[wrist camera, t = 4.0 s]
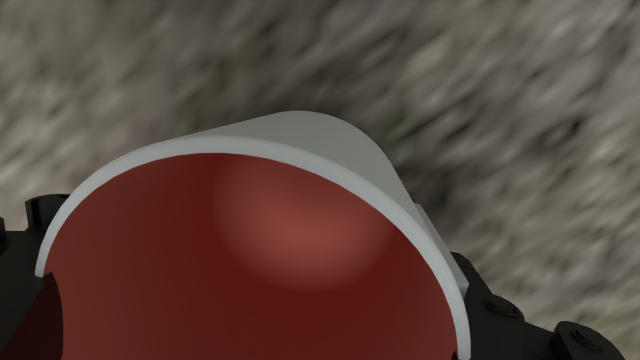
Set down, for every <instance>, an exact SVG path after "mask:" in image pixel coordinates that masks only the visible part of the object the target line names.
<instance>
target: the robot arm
mask: <svg viewBox="0 0 640 360" xmlns="http://www.w3.org/2000/svg"><path fill="white" fill-rule="evenodd" d="M70 195H71V194H50V195H44V196H38V197H35V198H32V199H29V200H28V201H26V202H25V206H26V213H27V219H28V226H29V227H28V228H27V229H26V230H25V231H6V230H5V224H4V219H3V218H1V217H0V360H61V358H62V355H63V328H64V327H63V310H62V303H61V297H60V293H59V288H58V285H57V282H56V280H55V277H54V275H53V273H52V272H51V273H49V274H48V275H46V276H44V277H38V276H36V275H35V269H36V264H37V259H38V255H39V251H40V247H41V244H42V242H43V239H44V237H45V234H46V232H47V230H48V227H49V225H50V224H51V222H52V220H53V219H54V217H55V215H56V214H57V212H58V210H59V209H60V207H61V206H62V205H63V203H64V202H65V201H66V200H67V199H68V197H69V196H70ZM414 205H415V207H416V209H417V210H418V212H419V214H420V216H421V218H422V219H423V221H424V223H425V225H426V226H427V228H428V230H429V232H430V234H431V235H432V237H433V239H434V241H435V243H436V244H437V246H438V248H439V250H440V251H441V253H442V255H443V257H444V259H445V260H446V262H447V264H448V266H449V268H450V270H451V272H452V274H453V276H454V278H455V280H456V282H457V285H458V287H459V290H460V293H461V296H462V298H463V301H464V305H465V309H466V314H467V318H468V323H469V331H470V340H471V358H470V359H469V360H625V359H624V357H623V356H622V354H621V353H620V352H619V350H618V349H617V348H616V347H615V346H614V345H613V344H612V343H611V342H610V341H609V340H607V339H606V338H604V337H603V336H602V335H601V334H600V333H598V332H596V331H593V329H591V328H589V327H587V326H583V325H580V324H578V323H574V322H569V321H560V322H559V323H558V324H557V326H556V328H555V330H554V332H551V331H548V330H545V329H543V328H540V327H537V326H535V325H532V324H529V323H527V322H525V319H524V316H523V313H522V312H521V311H520V310H519V309H518V307H516V306H515V305H514V304H512V303H511V302H509V301H508V300H506V299H504V298H502V297H500V296H497V295H494V294H492V292H491V291H490V289H489V288H488V287H487V285H486V284H485V282H484V281H483V280H482V278H481V277H480V275H479V274H478V272H477V271H476V270H475V268H474V267H473V265H472V264H471V262H470V261H469V260H468V259H466V258H465V257H464V256H462V255H461V254H460V253H455V252H450V251H449V250H448V248H447V247H446V245H445V244H444V242H443V240H442V239H441V237H440V236H439V234H438V232H437V231H436V229H435V227H434V226H433V224H432V223H431V221H430V219H429V218H428V216H427V215H426V213H425V211H424V210H423V208H422V206H421V205H420V204H418V203H414ZM451 360H460V359H458V358H457V355H456V353H455V350H454V352H453V355H452V358H451Z"/></svg>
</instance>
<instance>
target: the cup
mask: <svg viewBox="0 0 640 360" xmlns="http://www.w3.org/2000/svg"><path fill="white" fill-rule="evenodd" d="M51 272H52V273H53V275H54V277H55V280H56V282H57V285H58V288H59V293H60V297H61V303H62V310H63V327H64V328H63V355H62V358H61V360H451V358H452V355H453V352H454V350H455V353H456V355H457V358H458V359H460V360H469V359H470V358H471V340H470V331H469V323H468V318H467V314H466V309H465V305H464V301H463V298H462V296H461V293H460V290H459V287H458V285H457V282H456V280H455V278H454V276H453V274H452V272H451V270H450V268H449V266H448V264H447V262H446V260H445V259H444V257H443V255H442V253H441V251H440V250H439V248H438V246H437V244H436V243H435V241H434V239H433V237H432V235H431V234H430V232H429V230H428V228H427V226H426V225H425V223H424V221H423V219H422V218H421V216H420V214H419V212H418V210H417V209H416V207H415V205H414V203H413V202H412V200H411V198H410V196H409V194H408V193H407V191H406V189H405V187H404V186H403V184H402V182H401V180H400V178H399V177H398V175H397V173H396V171H395V170H394V168H393V166H392V164H391V162H390V161H389V159H388V158H387V156H386V155H385V154H384V152H383V151H382V150H381V149H380V147H379V146H378V145H377V144H376V143H375V142H374V141H373V140H372V139H371V138H370V137H369V136H367V135H366V134H365V133H363V132H362V131H361V130H359V129H358V128H356V127H355V126H353V125H351V124H349V123H347V122H346V121H343V120H341V119H339V118H336V117H333V116H330V115H327V114H323V113H318V112H311V111H286V112H279V113H275V114H270V115H266V116H262V117H258V118H254V119H250V120H246V121H242V122H238V123H234V124H230V125H226V126H222V127H218V128H214V129H210V130H206V131H202V132H198V133H194V134H190V135H186V136H181V137H177V138H173V139H169V140H165V141H161V142H157V143H154V144H151V145H148V146H145V147H142V148H139V149H136V150H134V151H131V152H129V153H127V154H125V155H123V156H121V157H119V158H117V159H115V160H113V161H112V162H110V163H109V164H107V165H105V166H104V167H102V168H101V169H99V170H98V171H96V172H95V173H93V174H92V175H91V176H90V177H89V178H88V179H86V180H85V181H84V182H83V183H82V184H81V185H80V186H78V187H77V188H76V189H75V190H74V192H73V193H72V194H71V195H70V196H69V197H68V199H67V200H66V201H65V202H64V203H63V205H62V206H61V207H60V209H59V210H58V212H57V214H56V215H55V217H54V219H53V220H52V222H51V224H50V225H49V227H48V230H47V232H46V234H45V237H44V239H43V242H42V244H41V247H40V251H39V255H38V259H37V264H36V269H35V275H36V276H38V277H44V276H46V275H48V274H49V273H51Z"/></svg>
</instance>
